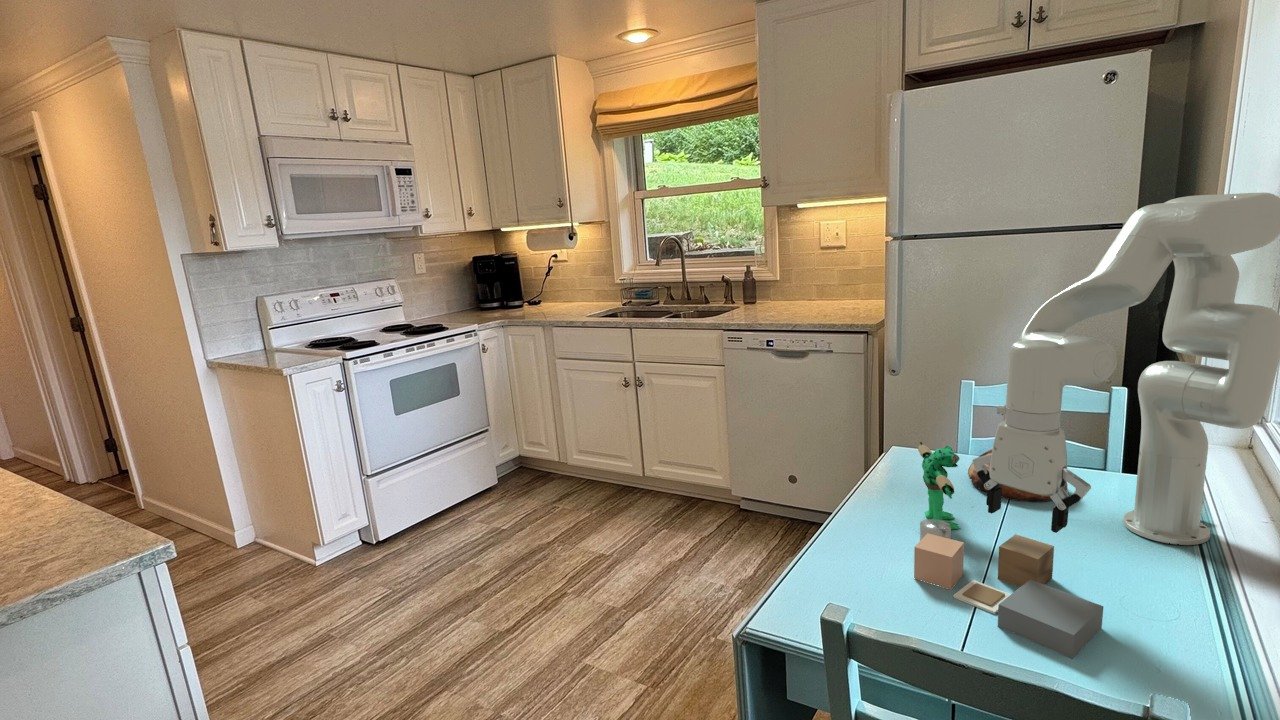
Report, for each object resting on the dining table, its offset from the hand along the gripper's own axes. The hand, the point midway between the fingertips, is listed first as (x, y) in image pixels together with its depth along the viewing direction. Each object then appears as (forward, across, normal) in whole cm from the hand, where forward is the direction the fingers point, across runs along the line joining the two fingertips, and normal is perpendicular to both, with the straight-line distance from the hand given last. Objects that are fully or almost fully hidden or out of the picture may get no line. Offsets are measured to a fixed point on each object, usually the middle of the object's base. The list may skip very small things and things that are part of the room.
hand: (1024, 519), depth 108 cm
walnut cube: (+11, 0, +1) cm, 11 cm away
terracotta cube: (+11, -10, -8) cm, 17 cm away
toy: (+11, -20, +11) cm, 25 cm away
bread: (+10, -17, +37) cm, 42 cm away
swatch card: (+11, -2, -9) cm, 14 cm away
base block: (+11, +8, -10) cm, 17 cm away
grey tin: (+11, -14, -2) cm, 18 cm away
